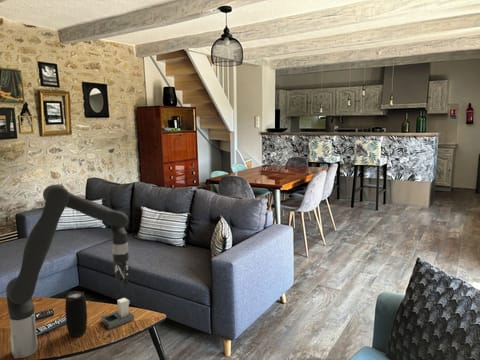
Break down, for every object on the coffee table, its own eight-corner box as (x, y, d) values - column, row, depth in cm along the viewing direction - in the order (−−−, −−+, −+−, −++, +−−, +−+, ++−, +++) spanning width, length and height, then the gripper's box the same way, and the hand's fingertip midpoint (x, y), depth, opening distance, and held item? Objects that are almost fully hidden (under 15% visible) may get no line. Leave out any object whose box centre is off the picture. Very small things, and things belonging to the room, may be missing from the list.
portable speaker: (91, 329, 177) (89, 291, 174) (78, 339, 168) (76, 300, 165) (76, 326, 179) (74, 289, 177) (62, 337, 170) (60, 297, 168)
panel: (109, 329, 177) (108, 324, 177) (101, 321, 184) (100, 316, 184) (134, 320, 186) (133, 315, 185) (125, 312, 193) (125, 307, 193)
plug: (121, 321, 184) (120, 302, 183) (118, 318, 187) (117, 300, 186) (131, 317, 188) (130, 299, 186) (127, 315, 191) (126, 297, 189)
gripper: (107, 249, 185) (108, 279, 187) (119, 256, 174) (121, 288, 177) (121, 246, 190) (122, 275, 192) (134, 253, 179) (135, 284, 182)
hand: (122, 282), depth 184 cm, fingers open, 8 cm apart
